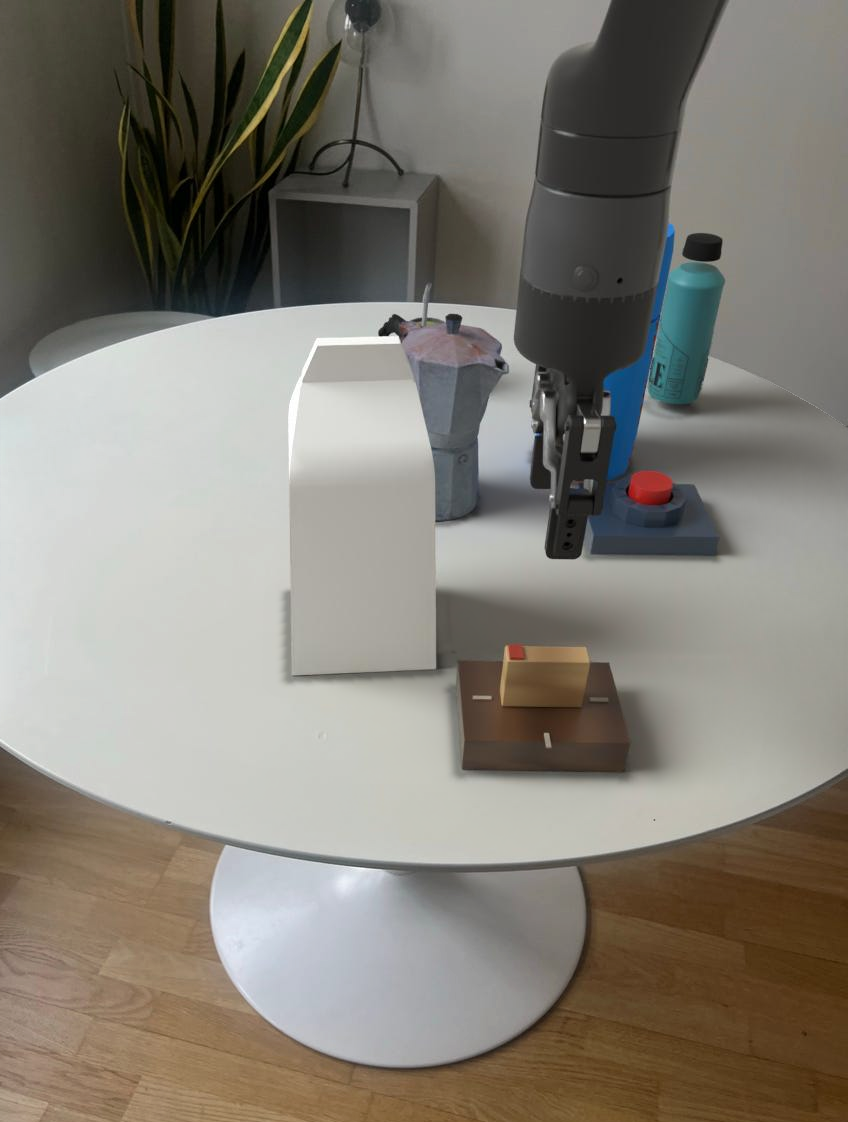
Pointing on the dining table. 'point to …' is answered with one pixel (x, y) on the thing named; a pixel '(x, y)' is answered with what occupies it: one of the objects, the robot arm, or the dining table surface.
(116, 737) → the dining table surface
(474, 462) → the moka pot
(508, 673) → the handle
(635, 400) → the thermos
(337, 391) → the milk
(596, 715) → the panel
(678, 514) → the button box
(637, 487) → the button
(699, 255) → the beverage bottle
